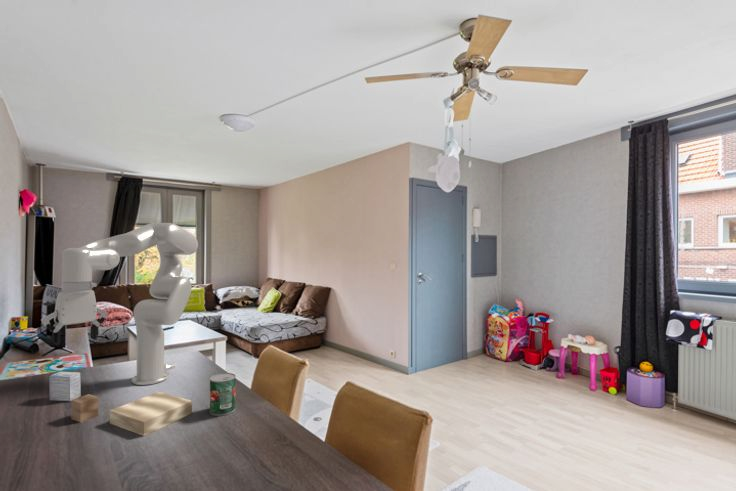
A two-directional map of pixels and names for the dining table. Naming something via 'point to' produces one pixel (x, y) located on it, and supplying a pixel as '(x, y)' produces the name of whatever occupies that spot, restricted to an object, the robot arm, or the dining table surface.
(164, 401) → the birch base
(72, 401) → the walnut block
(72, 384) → the medicine box
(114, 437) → the dining table surface
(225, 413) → the canned tomato
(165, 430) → the dining table surface
